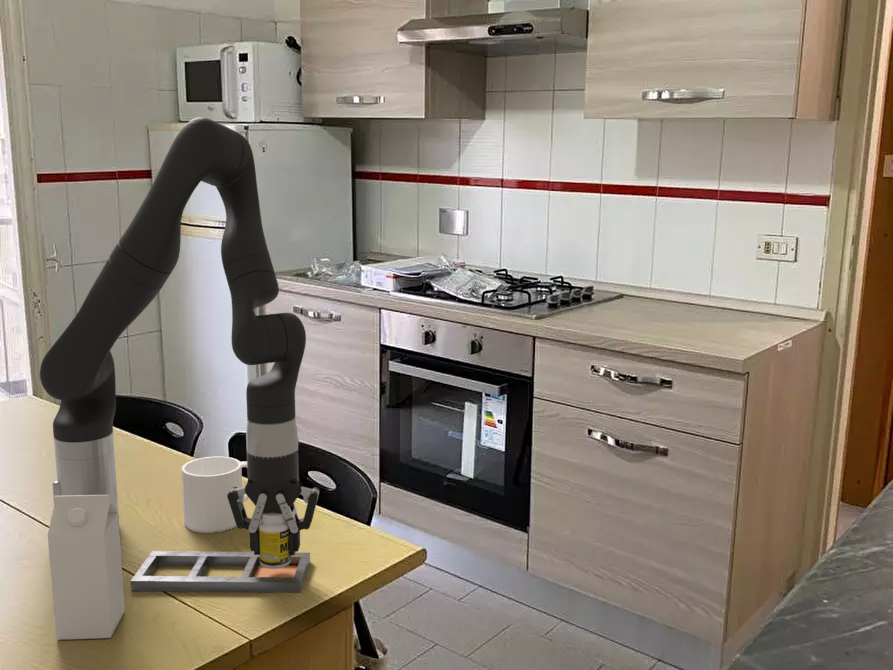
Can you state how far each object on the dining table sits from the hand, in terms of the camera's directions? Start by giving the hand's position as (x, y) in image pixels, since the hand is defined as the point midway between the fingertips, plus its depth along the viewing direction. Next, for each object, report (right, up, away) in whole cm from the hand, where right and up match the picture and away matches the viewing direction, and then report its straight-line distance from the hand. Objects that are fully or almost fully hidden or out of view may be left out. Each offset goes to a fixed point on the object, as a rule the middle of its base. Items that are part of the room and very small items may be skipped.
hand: (275, 552), depth 138 cm
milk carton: (-22, -7, -14) cm, 27 cm away
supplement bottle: (0, -2, 0) cm, 2 cm away
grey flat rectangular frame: (-8, -4, +1) cm, 9 cm away
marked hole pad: (0, -4, +1) cm, 4 cm away
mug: (-14, 0, +21) cm, 25 cm away
